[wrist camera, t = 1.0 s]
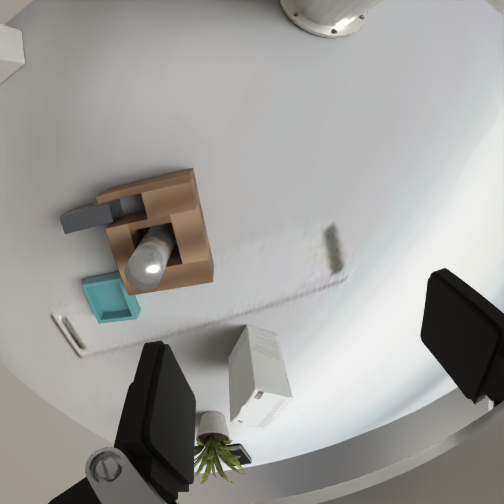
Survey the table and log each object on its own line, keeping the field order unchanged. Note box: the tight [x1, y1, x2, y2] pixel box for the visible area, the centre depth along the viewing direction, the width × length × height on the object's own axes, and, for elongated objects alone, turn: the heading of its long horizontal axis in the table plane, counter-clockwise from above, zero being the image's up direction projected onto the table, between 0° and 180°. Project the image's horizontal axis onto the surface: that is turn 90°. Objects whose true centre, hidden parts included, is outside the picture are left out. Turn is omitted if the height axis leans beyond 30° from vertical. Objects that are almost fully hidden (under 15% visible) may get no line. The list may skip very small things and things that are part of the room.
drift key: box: [60, 199, 123, 234], centre depth 36 cm, size 2×8×4 cm, turn 99°
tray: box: [81, 272, 140, 323], centre depth 42 cm, size 7×7×2 cm
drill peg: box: [124, 222, 176, 291], centre depth 34 cm, size 4×4×12 cm
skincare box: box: [228, 325, 293, 429], centre depth 42 cm, size 8×6×15 cm
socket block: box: [96, 168, 214, 296], centre depth 37 cm, size 14×12×5 cm
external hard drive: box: [216, 444, 252, 466], centre depth 65 cm, size 7×11×2 cm, turn 15°
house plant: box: [194, 411, 244, 484], centre depth 50 cm, size 14×14×16 cm
